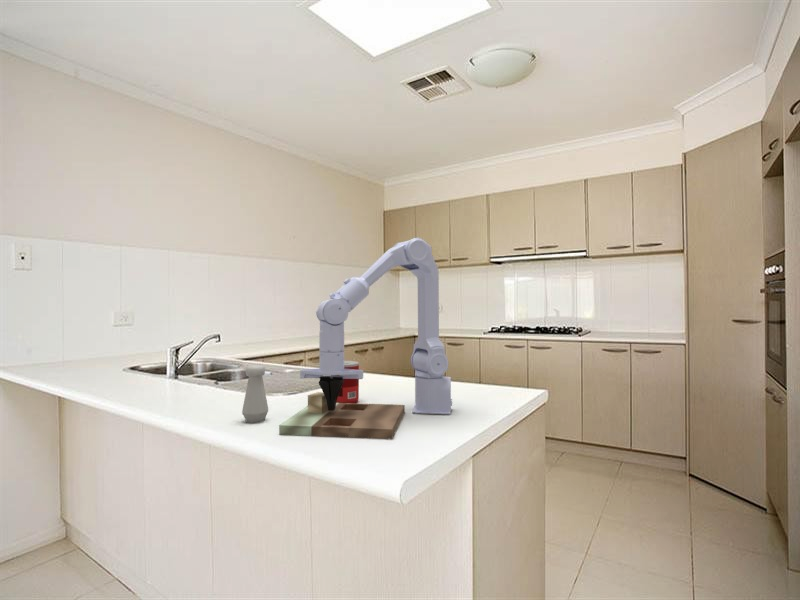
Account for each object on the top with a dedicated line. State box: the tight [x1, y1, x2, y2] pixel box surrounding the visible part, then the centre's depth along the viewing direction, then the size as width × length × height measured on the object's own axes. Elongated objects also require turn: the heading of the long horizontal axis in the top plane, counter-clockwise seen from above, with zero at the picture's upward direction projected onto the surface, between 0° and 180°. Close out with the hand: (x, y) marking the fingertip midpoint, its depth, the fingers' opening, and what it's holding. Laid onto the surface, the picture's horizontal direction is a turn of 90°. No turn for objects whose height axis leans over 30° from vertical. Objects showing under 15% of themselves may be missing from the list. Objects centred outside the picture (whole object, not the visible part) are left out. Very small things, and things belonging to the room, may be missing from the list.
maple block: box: [307, 391, 328, 414], centre depth 106 cm, size 4×4×4 cm
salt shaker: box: [241, 364, 269, 424], centre depth 105 cm, size 6×6×13 cm
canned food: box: [330, 360, 360, 403], centre depth 125 cm, size 8×8×11 cm
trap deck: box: [278, 402, 406, 440], centre depth 103 cm, size 24×22×2 cm
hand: (331, 409), depth 104 cm, fingers closed
